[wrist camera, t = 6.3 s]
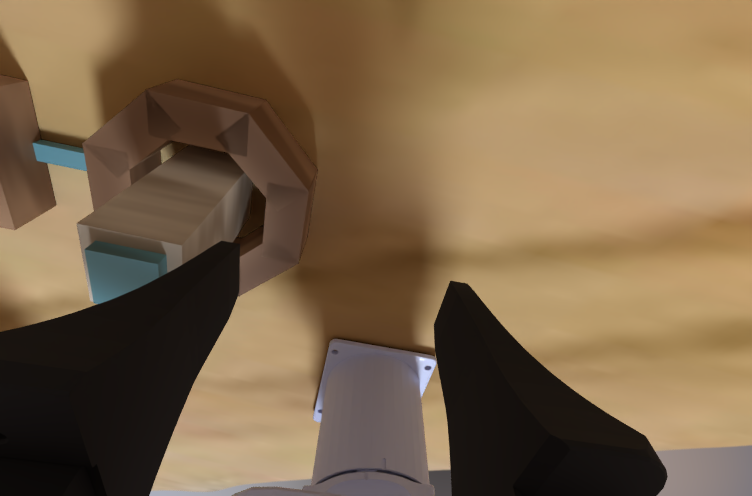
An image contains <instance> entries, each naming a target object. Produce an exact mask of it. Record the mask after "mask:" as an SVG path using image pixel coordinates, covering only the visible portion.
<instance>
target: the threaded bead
mask: <svg viewBox="0 0 752 496" xmlns="http://www.w3.org/2000/svg"><path fill="white" fill-rule="evenodd" d="M38 140H41V137H40V133H39V128H38V124H37V120H36V115H35V111H34V106H33V102H32V98H31V93H30V89H29V85H28V81H26V80H22V79H17V78H13V77H9V76H4V75H0V227H1V228H7V229H12V230H16V229H18V228H19V227H21V226H23V225H24V224H26V223H28V222H29V221H31V220H33V219H34V218H36V217H38V216H39V215H41V214H43V213H45V212H46V211H48V210H50V209H51V208H53V207H55V206H56V202H55V198H54V193H53V189H52V185H51V180H50V176H49V172H48V167H47V163H45V162H40V161H37V159H36V155H35V151H34V147H33V142H36V141H38Z"/></svg>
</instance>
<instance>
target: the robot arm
mask: <svg viewBox="0 0 752 496" xmlns="http://www.w3.org/2000/svg"><path fill="white" fill-rule="evenodd" d="M239 274H240V244H238V243H232V242H227V241H220V242H218V243H216V244H215V245H213V246H212V247H210V248H208V249H207V250H205V251H204V252H202V253H200V254H199V255H197V256H196V257H194V258H192V259H191V260H189V261H187V262H186V263H184V264H182V265H181V266H179V267H177V268H176V269H174V270H172V271H170V272H168V273H166V274H164V275H163V276H161V277H159V278H157V279H155V280H153V281H151V282H150V283H148V284H145V285H143V286H141V287H139V288H137V289H135V290H133V291H130V292H128V293H126V294H123V295H121V296H119V297H116V298H114V299H111V300H109V301H106V302H103V303H100V304H97V305H95V306H92V307H89V308H86V309H83V310H80V311H78V312H75V313H71V314H68V315H65V316H61V317H58V318H55V319H51V320H47V321H44V322H40V323H36V324H33V325H29V326H25V327H21V328H16V329H11V330H7V331H2V332H0V496H149V494H150V492H151V489H152V486H153V483H154V480H155V478H156V475H157V473H158V470H159V467H160V465H161V462H162V459H163V457H164V454H165V451H166V449H167V446H168V444H169V441H170V439H171V436H172V434H173V431H174V429H175V426H176V424H177V421H178V419H179V416H180V414H181V411H182V409H183V407H184V404H185V402H186V400H187V397H188V395H189V393H190V390H191V388H192V386H193V383H194V381H195V379H196V377H197V375H198V373H199V372H200V370H201V368H202V366H203V364H204V363H205V361H206V359H207V357H208V355H209V354H210V352H211V350H212V348H213V346H214V345H215V343H216V341H217V339H218V337H219V336H220V334H221V332H222V330H223V328H224V327H225V325H226V323H227V321H228V319H229V317H230V315H231V312H232V310H233V307H234V305H235V302H236V299H237V297H238V294H239ZM434 339H435V352H436V358H437V364H438V369H439V375H440V380H441V386H442V391H443V396H444V402H445V407H446V414H447V421H448V434H449V447H450V464H451V481H452V482H451V484H452V496H656V495H658V493H659V492H660V491H661V490H662V489H663V487H664V485H665V482H666V480H667V472H666V469H665V467H664V465H663V464H662V462H661V460H660V459H659V457H658V456H657V454H656V452H655V451H654V449H653V447H652V446H651V444H650V442H649V441H648V439H647V438H646V436H644V435H643V434H641V433H639V432H638V431H636V430H634V429H633V428H631V427H629V426H628V425H626V424H624V423H622V422H621V421H619V420H617V419H616V418H614V417H612V416H611V415H609V414H607V413H606V412H604V411H603V410H601V409H600V408H598V407H597V406H595V405H594V404H592V403H591V402H589V401H588V400H586V399H585V398H584V397H582V396H581V395H579V394H578V393H577V392H575V391H574V390H572V389H571V388H570V387H569V386H567V385H566V384H565V383H563V382H562V381H561V380H560V379H558V378H557V377H556V376H554V375H553V374H552V373H551V372H550V371H548V370H547V369H546V368H545V367H544V366H543V365H542V364H540V363H539V362H538V361H537V360H536V359H535V358H534V357H533V356H532V355H530V354H529V353H528V352H527V351H526V350H525V349H524V348H523V347H522V346H521V345H520V344H519V343H518V342H517V341H516V340H515V339H514V337H513V336H512V335H511V334H510V333H509V332H508V331H507V330H506V329H505V328H504V327H503V326H502V324H501V323H500V322H499V321H498V320H497V319H496V317H495V316H494V315H493V314H492V313H491V311H490V310H489V309H488V308H487V307H486V305H485V304H484V303H483V302H482V301H481V299H480V298H479V297H478V296H477V294H476V293H475V292H474V291H473V290H472V288H471V287H470V286H469V285H468V284H466V283H460V282H455V281H450V283H449V286H448V288H447V291H446V294H445V296H444V299H443V302H442V304H441V307H440V310H439V312H438V315H437V318H436V320H435V323H434ZM334 350H337V351H334ZM436 358H435V357H434V356H432V355H427V354H421V353H416V352H410V351H404V350H398V349H393V348H387V347H381V346H375V345H370V344H364V343H358V342H352V341H347V340H341V339H333V340H331V341H330V344H329V348H328V353H327V357H326V361H325V366H324V370H323V375H322V379H321V384H320V388H319V392H318V397H317V401H316V406H315V410H314V415H313V419H314V420H315V421H316V422H321V423H320V430H319V436H318V443H317V450H316V456H315V463H314V469H313V476H312V483H311V485H310V486H304V487H303V489H302V490H299V489H290V488H282V487H251V488H249V489H246V490H243V491H241V492H238V493H235V494H234V495H232V496H435V492H434V486H433V485H429V474H428V464H427V454H426V444H425V433H424V423H423V413H422V403H421V397H422V395H423V393H424V390H425V388H426V386H427V384H428V382H429V379H430V377H431V375H432V373H433V370H434V368H435V366H436Z"/></svg>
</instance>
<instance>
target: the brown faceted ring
mask: <svg viewBox="0 0 752 496" xmlns="http://www.w3.org/2000/svg"><path fill="white" fill-rule="evenodd" d="M172 141H177V142H181V143H186V144H190V145H195V146H199V147H204V148H209V149H213V150H218V151H222V152H227V153H229V155H230V156H231V157H232V158H233V159H234V160H235V162H236V163H237V164H238V165H239V166H240V168H241V169H242V170H243V171H244V172H245V174H246V175H247V176H248V177H249V178H250V179H251V181H252V182H253V183H254V184H255V185H256V187H257V188H258V189H259V190H260V191H261V193H262V194H263V195H264V196H265V197H266V209H265V221H264V225H263V226H261V227H260V228H258V229H256V230H255V231H253V232H252V233H250V234H248V235H247V236H245V237H243V238H238V237H236V238H235V240H234V241H233V243H238V244H240V274H239V294H238V296H240V295H242V294H244V293H246V292H248V291H249V290H251V289H253V288H255V287H257V286H259V285H260V284H262V283H264V282H266V281H268V280H269V279H271V278H273V277H275V276H277V275H278V274H280V273H282V272H284V271H286V270H287V269H289V268H291V267H293V266H295V265H296V264H298V263H299V261H300V258H301V255H302V252H303V249H304V246H305V243H306V240H307V237H308V230H309V223H310V217H311V210H312V204H313V197H314V191H315V184H316V178H317V171H318V169H317V168H316V167H315V166H314V164H313V163H312V162H311V160H310V159H309V158H308V156H307V155H306V154H305V152H304V151H303V150H302V148H301V147H300V145H299V144H298V143H297V141H296V140H295V139H294V137H293V136H292V135H291V133H290V132H289V131H288V129H287V128H286V126H285V125H284V124H283V122H282V121H281V120H280V118H279V117H278V116H277V114H276V113H275V112H274V110H273V109H272V107H271V106H270V105H269V103H268V102H267V100H264V99H260V98H256V97H252V96H247V95H243V94H239V93H235V92H230V91H226V90H222V89H217V88H213V87H209V86H205V85H200V84H196V83H192V82H188V81H183V80H179V79H176V80H173V81H170V82H167V83H164V84H161V85H158V86H155V87H152V88H149V89H146V90H145V91H144V92H143V93H142V94H141V95H139V96H138V97H137V98H136V99H135V100H133V101H132V102H131V103H130V104H129V105H128V106H126V107H125V108H124V109H123V110H122V111H120V112H119V113H118V114H117V115H116V116H114V117H113V118H112V119H111V120H110V121H109V122H107V123H106V124H105V125H104V126H103V127H101V128H100V129H99V130H98V131H97V132H95V133H94V134H93V135H92V136H91V137H90V138H88V139H87V140H86V141H85V142H83V143H82V145H83V151H84V156H85V162H86V168H87V174H88V179H89V185H90V191H91V196H92V202H93V208H94V211H95V210H97V209H98V208H99V207H101V206H102V205H104V204H105V203H107V202H108V201H109V200H111V199H112V198H114V197H115V196H117V195H118V194H120V193H121V192H122V191H124V190H125V189H127V188H128V187H130V186H131V185H132V184H134V183H135V182H137V181H138V180H140V179H141V178H143V177H144V176H145V175H147V174H148V173H150V172H151V171H153V170H154V169H155V168H157V167H158V166H160V165H161V154H160V150H161V149H163V148H164V147H165V146H167V145H168V144H169V143H171V142H172Z"/></svg>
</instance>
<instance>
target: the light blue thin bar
mask: <svg viewBox="0 0 752 496" xmlns="http://www.w3.org/2000/svg"><path fill="white" fill-rule="evenodd" d="M33 147H34V151H35V155H36V159H37V161H40V162H45V163H50V164H55V165H60V166H65V167H69V168H74V169H79V170H84V171H87V168H86V162H85V156H84V151H83V148H79V147H74V146H70V145H65V144H60V143H55V142H51V141H46V140H38V141H36V142H33Z"/></svg>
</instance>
